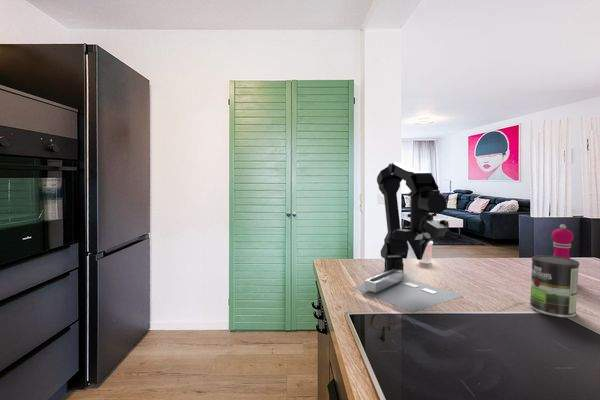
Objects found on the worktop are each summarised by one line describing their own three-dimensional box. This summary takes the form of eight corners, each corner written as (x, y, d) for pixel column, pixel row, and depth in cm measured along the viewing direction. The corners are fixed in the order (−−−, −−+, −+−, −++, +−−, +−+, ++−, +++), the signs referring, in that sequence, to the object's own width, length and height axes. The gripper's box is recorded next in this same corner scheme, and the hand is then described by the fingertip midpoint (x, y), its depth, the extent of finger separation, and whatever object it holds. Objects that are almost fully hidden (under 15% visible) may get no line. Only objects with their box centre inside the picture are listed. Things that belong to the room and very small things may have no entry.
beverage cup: (432, 260, 146) (433, 229, 145) (433, 264, 140) (433, 231, 139) (417, 259, 148) (418, 228, 147) (417, 263, 142) (418, 230, 141)
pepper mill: (578, 284, 112) (581, 226, 111) (554, 283, 114) (556, 225, 112) (566, 278, 119) (568, 223, 118) (543, 277, 121) (545, 222, 119)
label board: (352, 290, 108) (352, 286, 108) (401, 278, 120) (401, 275, 120) (412, 315, 88) (412, 311, 88) (463, 298, 100) (463, 295, 100)
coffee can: (550, 318, 86) (553, 264, 85) (520, 303, 96) (522, 255, 95) (587, 317, 86) (590, 263, 86) (554, 302, 97) (556, 254, 96)
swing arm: (394, 276, 117) (394, 267, 117) (405, 279, 115) (405, 269, 114) (364, 289, 104) (364, 279, 104) (375, 292, 101) (375, 281, 101)
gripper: (421, 214, 94) (420, 269, 95) (461, 211, 103) (460, 260, 104) (391, 211, 103) (391, 261, 104) (430, 209, 113) (430, 254, 114)
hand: (419, 259), depth 106 cm, fingers closed
